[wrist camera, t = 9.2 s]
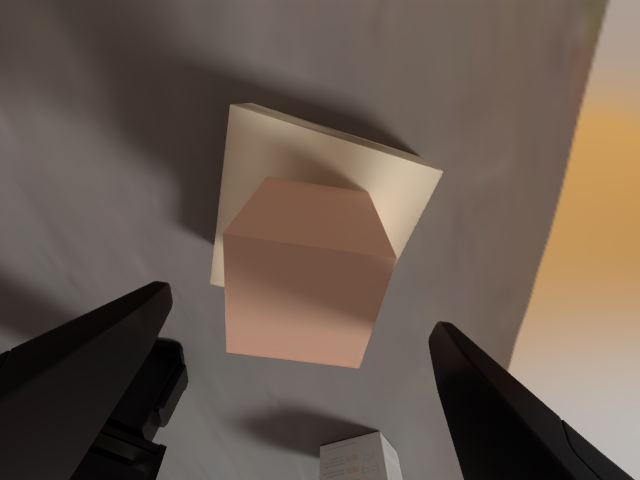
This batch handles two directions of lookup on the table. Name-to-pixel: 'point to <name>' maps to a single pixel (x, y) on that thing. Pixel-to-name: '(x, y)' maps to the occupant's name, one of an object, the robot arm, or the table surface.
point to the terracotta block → (305, 273)
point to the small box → (360, 459)
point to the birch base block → (318, 170)
